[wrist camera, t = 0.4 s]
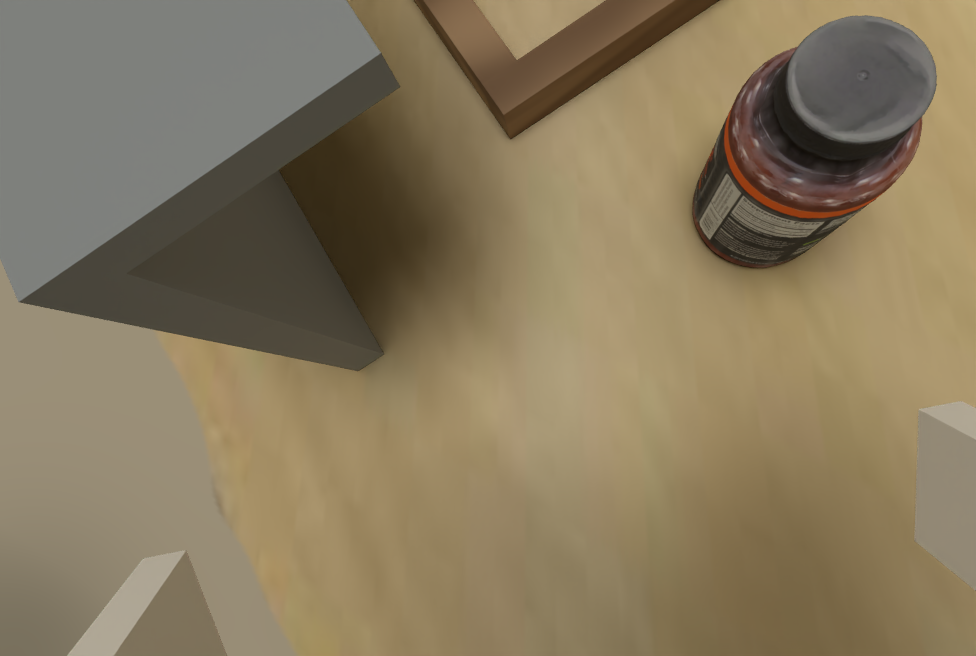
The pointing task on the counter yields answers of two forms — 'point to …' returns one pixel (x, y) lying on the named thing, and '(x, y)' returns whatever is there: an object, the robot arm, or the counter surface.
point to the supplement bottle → (814, 140)
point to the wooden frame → (551, 52)
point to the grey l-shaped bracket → (180, 165)
